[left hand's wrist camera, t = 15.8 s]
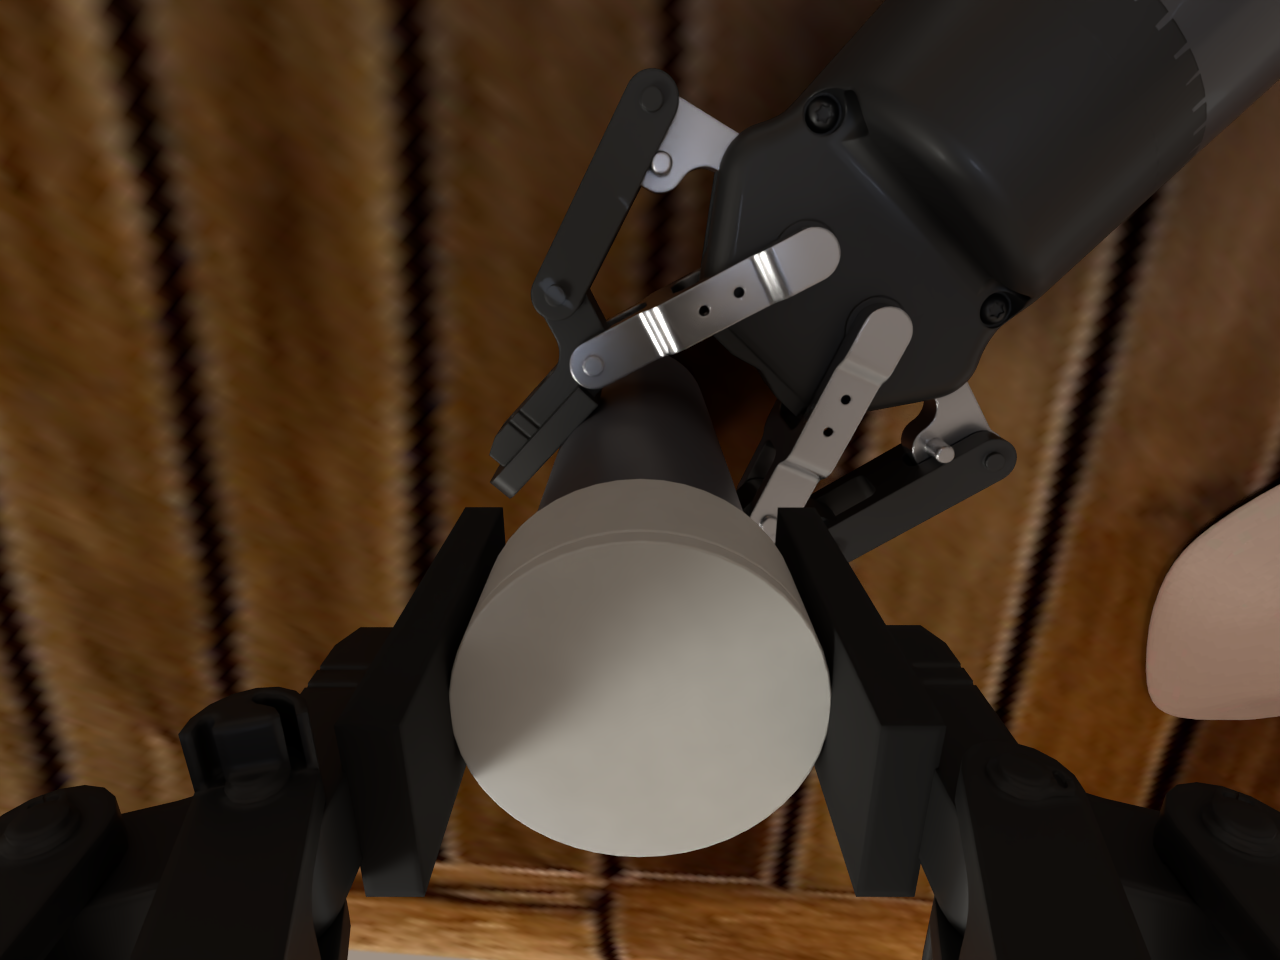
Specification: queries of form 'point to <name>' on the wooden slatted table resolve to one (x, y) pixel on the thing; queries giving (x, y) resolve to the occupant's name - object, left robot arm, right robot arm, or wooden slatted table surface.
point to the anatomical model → (1221, 621)
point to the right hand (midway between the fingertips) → (579, 539)
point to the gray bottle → (645, 437)
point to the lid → (640, 673)
